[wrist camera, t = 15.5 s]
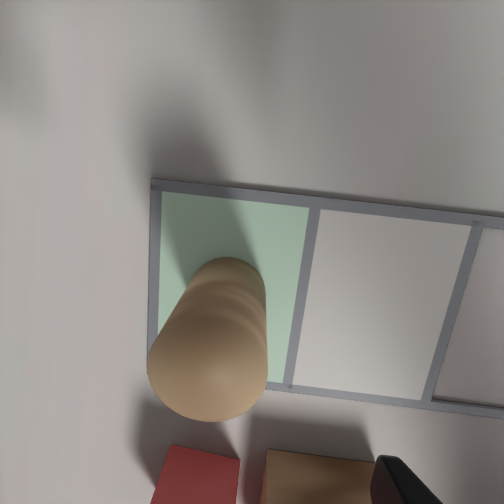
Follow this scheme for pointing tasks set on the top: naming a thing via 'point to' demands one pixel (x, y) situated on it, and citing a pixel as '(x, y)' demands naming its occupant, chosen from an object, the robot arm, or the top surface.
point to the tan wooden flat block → (314, 479)
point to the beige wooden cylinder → (213, 344)
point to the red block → (196, 478)
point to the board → (328, 284)
